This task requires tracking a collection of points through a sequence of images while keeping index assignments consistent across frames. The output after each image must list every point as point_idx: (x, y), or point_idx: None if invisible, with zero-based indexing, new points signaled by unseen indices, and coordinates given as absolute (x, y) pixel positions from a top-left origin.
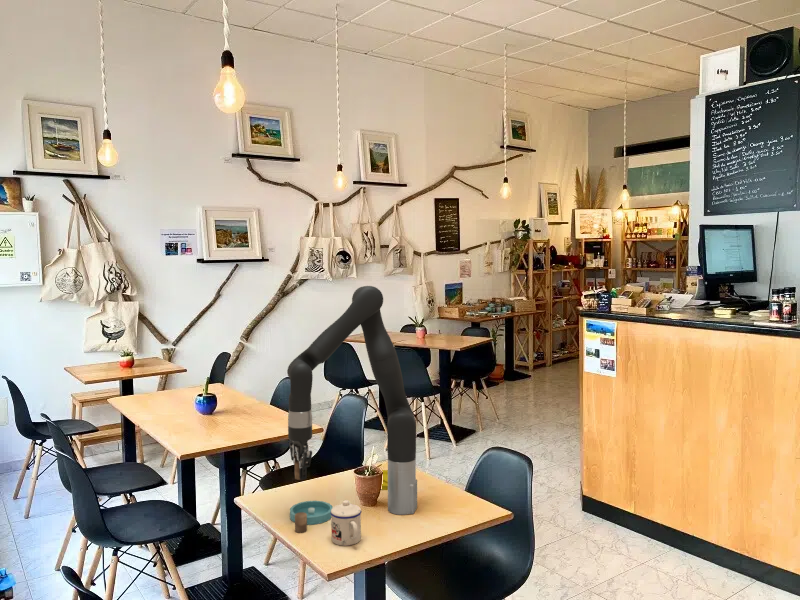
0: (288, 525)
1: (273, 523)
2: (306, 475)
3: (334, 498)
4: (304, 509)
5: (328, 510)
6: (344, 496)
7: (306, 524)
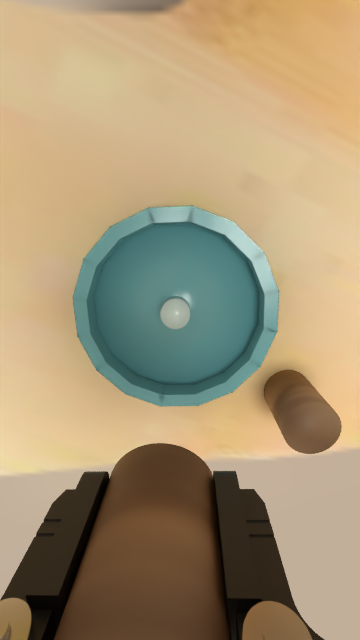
0: (216, 413)
1: None
2: (240, 495)
3: (19, 121)
4: (118, 319)
5: (180, 225)
6: (11, 53)
7: (313, 387)
